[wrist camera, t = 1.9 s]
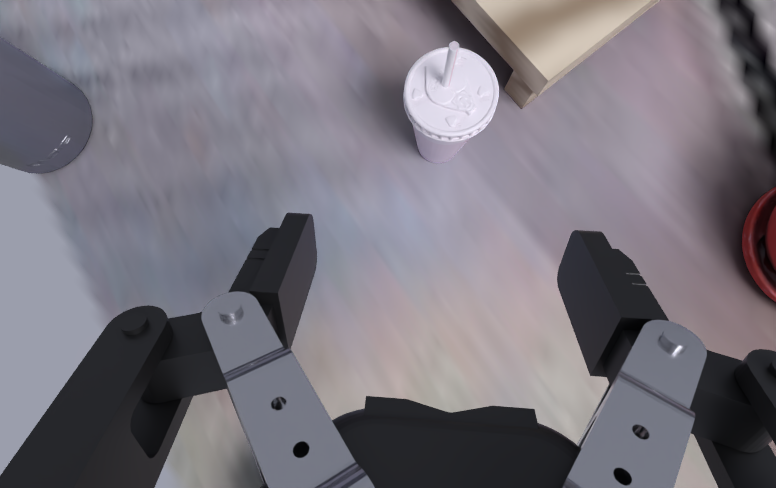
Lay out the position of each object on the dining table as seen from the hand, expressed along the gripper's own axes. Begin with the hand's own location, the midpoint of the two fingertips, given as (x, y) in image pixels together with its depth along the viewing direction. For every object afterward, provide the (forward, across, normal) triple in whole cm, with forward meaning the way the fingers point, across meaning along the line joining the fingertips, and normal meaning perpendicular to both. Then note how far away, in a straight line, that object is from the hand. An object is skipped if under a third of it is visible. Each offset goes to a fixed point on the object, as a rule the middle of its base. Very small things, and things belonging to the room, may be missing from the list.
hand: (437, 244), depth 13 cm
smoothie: (+25, -1, +8) cm, 26 cm away
